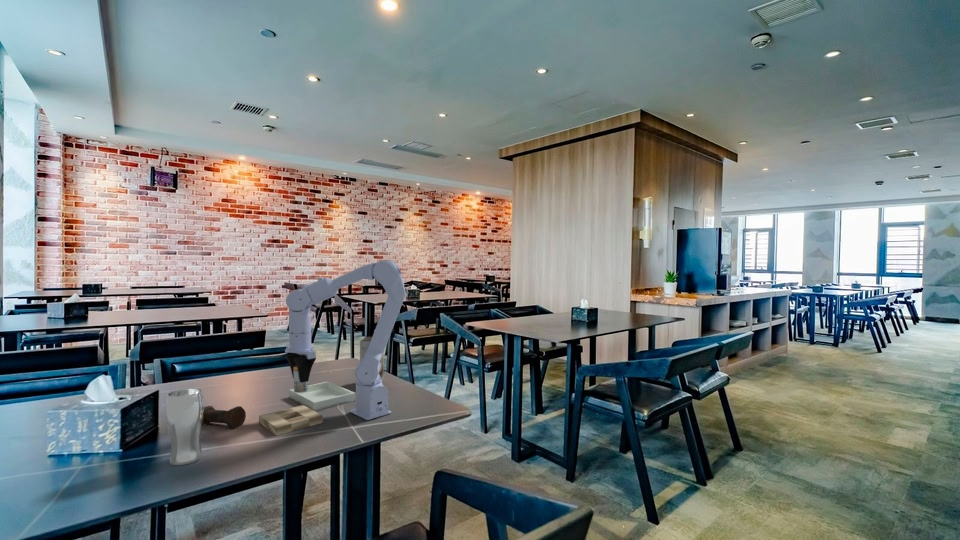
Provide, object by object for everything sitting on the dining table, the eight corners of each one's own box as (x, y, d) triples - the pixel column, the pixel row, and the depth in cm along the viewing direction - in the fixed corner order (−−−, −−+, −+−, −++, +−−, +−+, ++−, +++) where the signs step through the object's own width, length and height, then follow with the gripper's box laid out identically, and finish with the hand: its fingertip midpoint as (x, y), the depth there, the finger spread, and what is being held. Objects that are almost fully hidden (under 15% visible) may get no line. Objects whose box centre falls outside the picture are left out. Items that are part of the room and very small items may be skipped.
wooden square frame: (322, 422, 119) (322, 415, 119) (276, 435, 110) (276, 427, 110) (303, 411, 127) (303, 404, 127) (259, 422, 118) (259, 415, 118)
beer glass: (163, 459, 97) (162, 391, 97) (200, 449, 102) (199, 385, 102) (170, 470, 92) (168, 399, 92) (208, 459, 97) (207, 392, 97)
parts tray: (355, 400, 137) (355, 392, 137) (314, 411, 127) (314, 402, 127) (328, 388, 149) (327, 381, 149) (289, 397, 140) (289, 389, 140)
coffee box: (378, 388, 150) (377, 340, 150) (359, 387, 150) (359, 340, 150) (384, 380, 159) (384, 336, 159) (366, 380, 159) (366, 336, 159)
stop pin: (310, 390, 124) (309, 365, 124) (297, 393, 122) (296, 368, 121) (304, 387, 127) (303, 363, 126) (291, 390, 124) (291, 366, 124)
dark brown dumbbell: (196, 427, 121) (241, 431, 117) (181, 424, 116) (227, 427, 112) (204, 405, 123) (248, 408, 119) (190, 401, 119) (235, 404, 115)
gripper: (275, 331, 126) (275, 378, 126) (297, 337, 116) (297, 388, 116) (299, 328, 131) (300, 373, 131) (322, 333, 121) (323, 383, 121)
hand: (300, 380), depth 124 cm, fingers closed on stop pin, 4 cm apart
